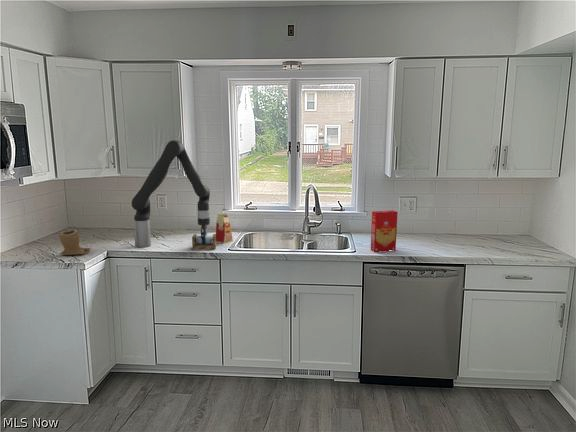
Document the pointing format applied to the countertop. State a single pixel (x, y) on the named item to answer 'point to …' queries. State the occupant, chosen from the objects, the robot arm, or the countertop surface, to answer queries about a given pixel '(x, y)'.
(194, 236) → the cradle
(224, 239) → the milk carton
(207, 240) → the cylinder
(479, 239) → the countertop surface
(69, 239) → the tan hollow boot-shaped piece
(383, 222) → the food packaging
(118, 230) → the countertop surface
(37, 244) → the countertop surface
